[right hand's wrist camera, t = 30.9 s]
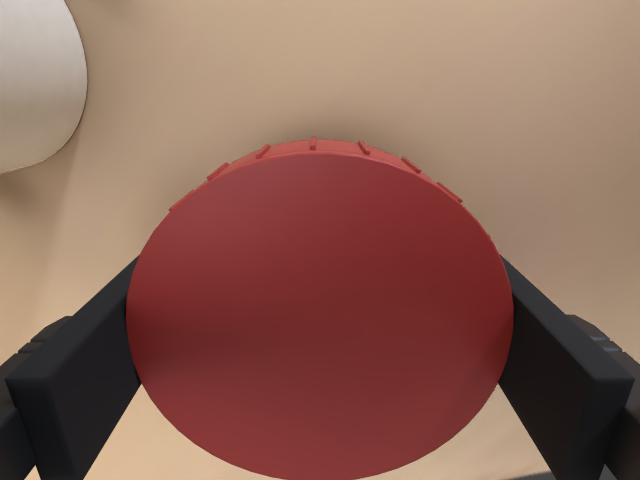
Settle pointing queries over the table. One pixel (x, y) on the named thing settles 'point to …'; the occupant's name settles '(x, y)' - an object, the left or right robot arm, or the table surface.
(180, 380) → the lid
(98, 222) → the table surface
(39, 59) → the jar
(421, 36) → the table surface
